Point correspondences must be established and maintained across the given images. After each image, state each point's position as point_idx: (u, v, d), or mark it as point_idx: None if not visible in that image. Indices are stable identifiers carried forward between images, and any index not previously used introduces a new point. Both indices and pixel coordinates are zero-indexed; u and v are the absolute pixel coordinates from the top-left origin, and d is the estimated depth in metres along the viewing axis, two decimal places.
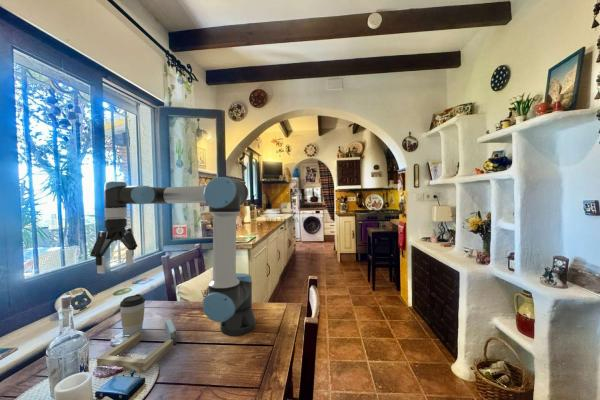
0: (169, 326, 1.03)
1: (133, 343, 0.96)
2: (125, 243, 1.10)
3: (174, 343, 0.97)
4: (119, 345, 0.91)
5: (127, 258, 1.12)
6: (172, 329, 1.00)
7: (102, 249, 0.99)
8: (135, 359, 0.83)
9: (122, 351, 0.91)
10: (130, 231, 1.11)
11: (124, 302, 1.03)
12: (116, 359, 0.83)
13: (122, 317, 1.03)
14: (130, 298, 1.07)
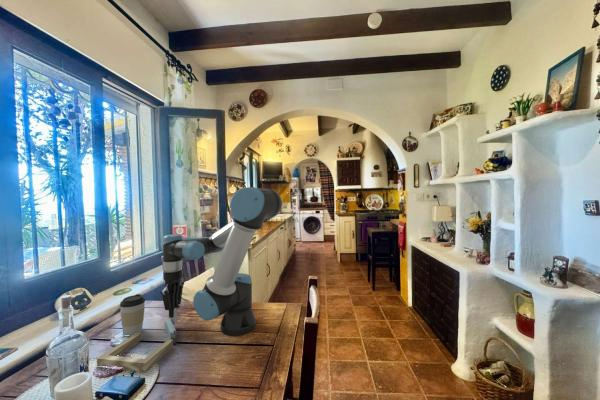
0: (169, 326, 1.03)
1: (133, 343, 0.96)
2: None
3: (174, 343, 0.97)
4: (119, 345, 0.91)
5: None
6: (172, 329, 1.00)
7: (171, 303, 1.08)
8: (135, 359, 0.83)
9: (122, 351, 0.91)
10: (182, 284, 1.15)
11: (124, 302, 1.03)
12: (116, 359, 0.83)
13: (122, 317, 1.03)
14: (130, 298, 1.07)
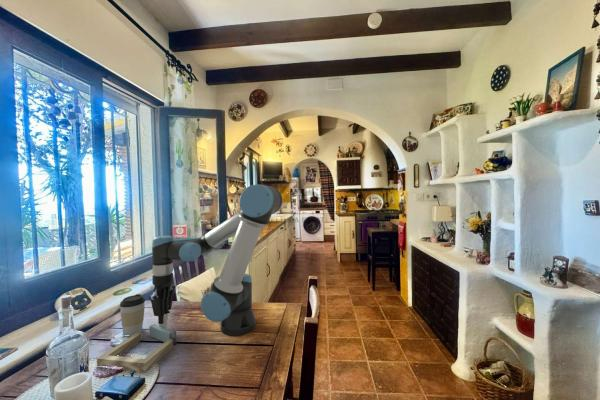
0: (161, 329, 1.00)
1: (133, 343, 0.96)
2: (164, 302, 1.05)
3: (174, 343, 0.97)
4: (119, 345, 0.91)
5: None
6: (168, 331, 0.99)
7: (160, 309, 1.02)
8: (135, 359, 0.83)
9: (122, 351, 0.91)
10: (173, 289, 1.09)
11: (124, 302, 1.03)
12: (116, 359, 0.83)
13: (122, 317, 1.03)
14: (130, 298, 1.07)
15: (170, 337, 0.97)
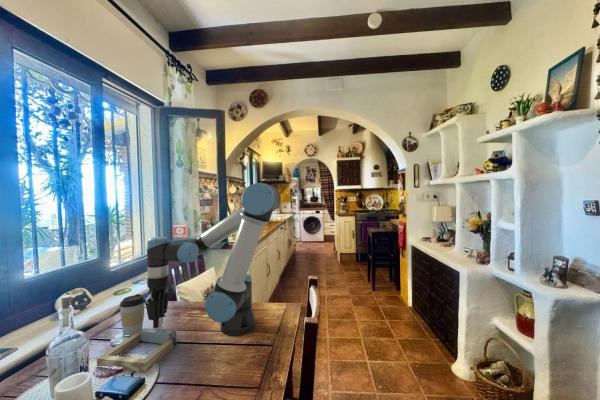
0: (157, 332, 0.98)
1: (133, 343, 0.96)
2: None
3: (174, 343, 0.97)
4: (119, 345, 0.91)
5: None
6: (165, 332, 0.98)
7: (155, 312, 0.99)
8: (135, 359, 0.83)
9: (122, 351, 0.91)
10: (169, 291, 1.06)
11: (124, 302, 1.03)
12: (116, 359, 0.83)
13: (122, 317, 1.03)
14: (130, 298, 1.07)
15: (169, 338, 0.97)
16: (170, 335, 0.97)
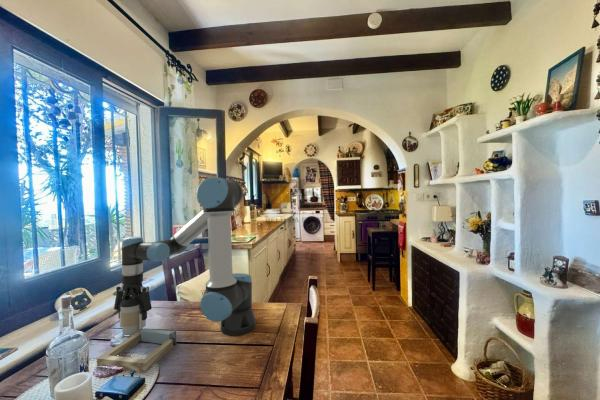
0: (157, 332, 0.98)
1: (133, 343, 0.96)
2: None
3: (174, 343, 0.97)
4: (119, 345, 0.91)
5: None
6: (165, 332, 0.98)
7: None
8: (135, 359, 0.83)
9: (122, 351, 0.91)
10: (143, 291, 1.05)
11: (124, 302, 1.03)
12: (116, 359, 0.83)
13: (122, 317, 1.03)
14: (130, 298, 1.07)
15: (169, 338, 0.97)
16: (170, 335, 0.97)
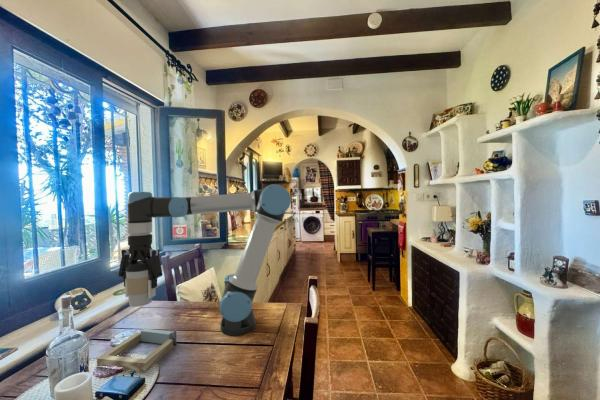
0: (157, 332, 0.98)
1: (133, 343, 0.96)
2: None
3: (174, 343, 0.97)
4: (119, 345, 0.91)
5: None
6: (165, 332, 0.98)
7: None
8: (135, 359, 0.83)
9: (122, 351, 0.91)
10: (152, 254, 0.89)
11: (130, 266, 0.88)
12: (116, 359, 0.83)
13: (128, 284, 0.87)
14: (137, 263, 0.91)
15: (169, 338, 0.97)
16: (170, 335, 0.97)
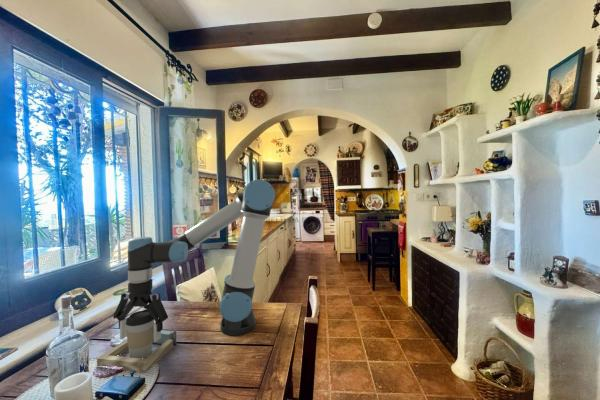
0: None
1: None
2: None
3: (174, 343, 0.97)
4: (119, 345, 0.91)
5: None
6: (165, 332, 0.98)
7: None
8: (135, 359, 0.83)
9: (122, 351, 0.91)
10: (153, 299, 0.89)
11: (131, 320, 0.88)
12: (116, 359, 0.83)
13: (128, 337, 0.87)
14: (138, 314, 0.91)
15: (169, 338, 0.97)
16: (170, 335, 0.97)
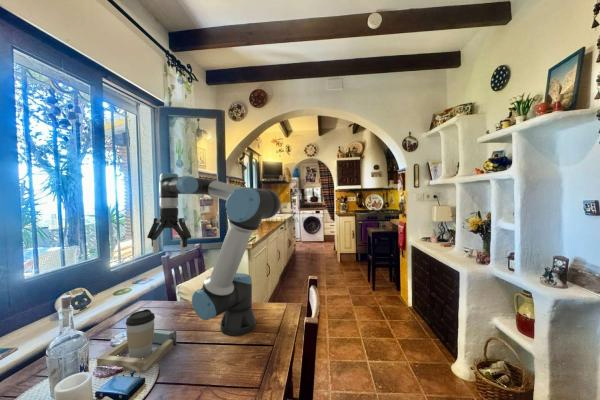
0: (157, 332, 0.98)
1: None
2: None
3: (174, 343, 0.97)
4: (119, 345, 0.91)
5: None
6: (165, 332, 0.98)
7: None
8: (135, 359, 0.83)
9: (122, 351, 0.91)
10: (180, 221, 1.12)
11: (131, 320, 0.88)
12: (116, 359, 0.83)
13: (128, 337, 0.87)
14: (137, 314, 0.91)
15: (169, 338, 0.97)
16: (170, 335, 0.97)
